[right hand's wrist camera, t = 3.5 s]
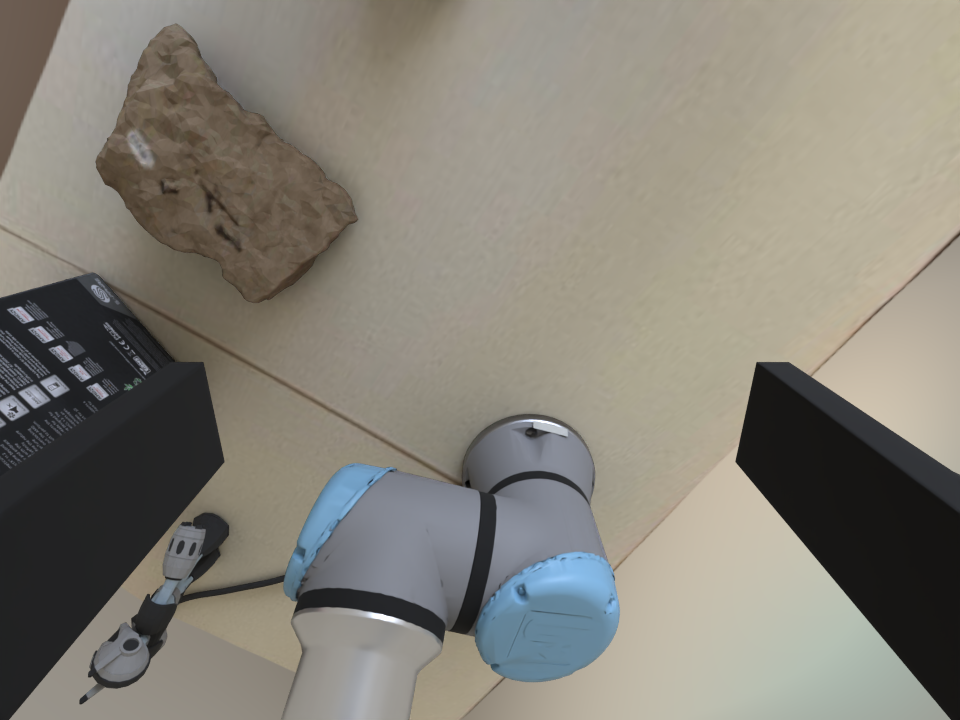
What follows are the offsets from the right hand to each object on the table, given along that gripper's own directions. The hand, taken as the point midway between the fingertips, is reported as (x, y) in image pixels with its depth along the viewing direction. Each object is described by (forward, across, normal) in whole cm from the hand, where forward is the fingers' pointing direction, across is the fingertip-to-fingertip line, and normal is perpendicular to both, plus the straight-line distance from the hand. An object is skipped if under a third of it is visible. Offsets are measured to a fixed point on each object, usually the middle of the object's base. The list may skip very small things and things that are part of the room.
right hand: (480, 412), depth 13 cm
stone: (+41, +23, -4) cm, 47 cm away
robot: (+41, +34, +39) cm, 66 cm away
